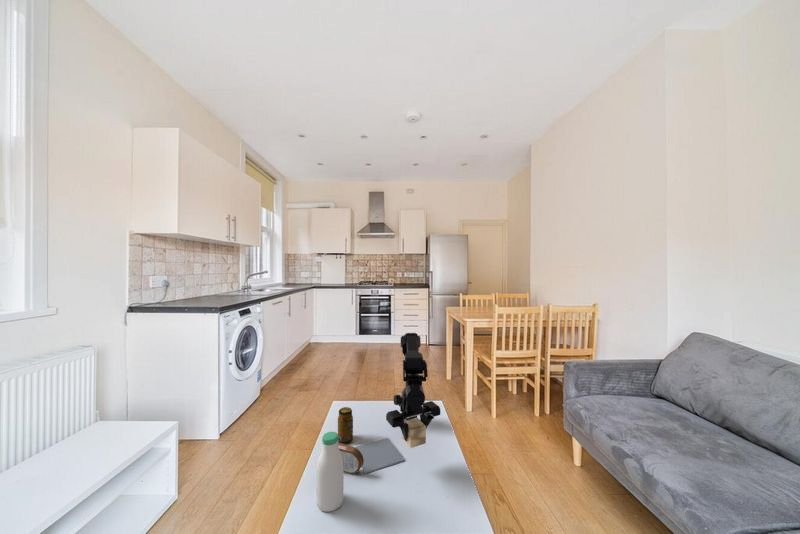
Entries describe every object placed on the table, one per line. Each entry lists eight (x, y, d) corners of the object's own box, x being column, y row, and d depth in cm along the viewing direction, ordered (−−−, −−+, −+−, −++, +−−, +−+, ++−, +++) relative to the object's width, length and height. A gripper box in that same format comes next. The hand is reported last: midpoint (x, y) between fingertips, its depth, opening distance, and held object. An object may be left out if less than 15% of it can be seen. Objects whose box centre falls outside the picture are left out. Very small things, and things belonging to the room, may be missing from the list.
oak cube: (416, 434, 107) (417, 417, 106) (425, 443, 101) (425, 425, 101) (402, 438, 104) (402, 421, 104) (410, 448, 98) (410, 430, 98)
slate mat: (387, 438, 120) (387, 437, 120) (405, 460, 107) (405, 459, 107) (352, 448, 114) (352, 447, 114) (365, 473, 100) (365, 472, 100)
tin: (364, 471, 101) (364, 447, 101) (359, 478, 98) (359, 453, 98) (326, 462, 106) (326, 438, 106) (320, 467, 103) (320, 443, 103)
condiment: (348, 432, 125) (348, 404, 125) (359, 441, 118) (359, 412, 118) (332, 439, 120) (332, 409, 120) (343, 449, 114) (343, 418, 113)
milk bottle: (348, 501, 88) (348, 435, 88) (326, 517, 83) (326, 446, 83) (333, 488, 94) (333, 425, 93) (311, 502, 88) (311, 435, 88)
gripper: (424, 379, 114) (424, 420, 114) (379, 389, 105) (379, 432, 105) (441, 391, 104) (441, 435, 104) (393, 402, 95) (393, 450, 96)
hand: (413, 437), depth 103 cm, fingers closed on oak cube, 6 cm apart
